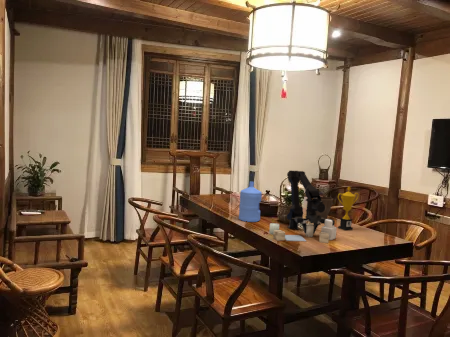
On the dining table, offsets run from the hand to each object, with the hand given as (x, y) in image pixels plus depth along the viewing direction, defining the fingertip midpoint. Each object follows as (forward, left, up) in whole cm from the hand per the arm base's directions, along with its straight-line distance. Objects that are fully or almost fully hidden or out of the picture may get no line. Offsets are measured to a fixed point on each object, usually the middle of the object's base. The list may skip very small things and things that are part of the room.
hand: (309, 233), depth 237 cm
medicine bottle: (+4, +11, -2) cm, 12 cm away
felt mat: (+7, -12, -2) cm, 14 cm away
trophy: (-21, +33, -2) cm, 39 cm away
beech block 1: (+10, -22, -2) cm, 24 cm away
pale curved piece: (-3, -22, -2) cm, 22 cm away
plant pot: (-54, +28, -2) cm, 61 cm away
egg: (0, 0, -2) cm, 2 cm away
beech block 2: (+12, +5, -2) cm, 13 cm away
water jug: (-39, -32, -2) cm, 50 cm away
